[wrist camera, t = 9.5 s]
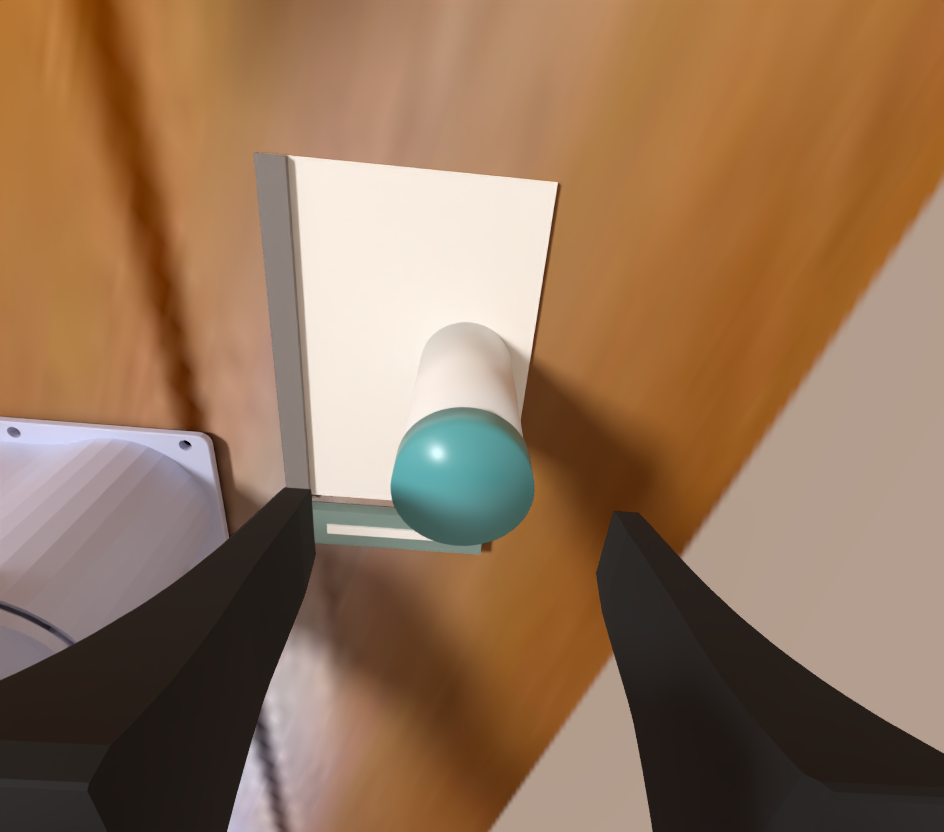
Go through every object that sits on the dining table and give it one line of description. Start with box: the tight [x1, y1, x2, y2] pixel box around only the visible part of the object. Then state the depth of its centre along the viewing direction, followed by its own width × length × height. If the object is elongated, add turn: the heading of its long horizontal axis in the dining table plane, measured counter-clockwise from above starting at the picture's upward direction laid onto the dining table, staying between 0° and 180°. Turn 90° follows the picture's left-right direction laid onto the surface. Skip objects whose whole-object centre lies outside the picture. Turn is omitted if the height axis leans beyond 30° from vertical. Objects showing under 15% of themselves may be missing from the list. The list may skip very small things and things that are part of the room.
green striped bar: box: [312, 501, 482, 554], centre depth 25 cm, size 8×2×1 cm, turn 85°
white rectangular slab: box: [254, 152, 558, 500], centre depth 21 cm, size 10×14×1 cm
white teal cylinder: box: [390, 322, 534, 546], centre depth 18 cm, size 4×4×8 cm
